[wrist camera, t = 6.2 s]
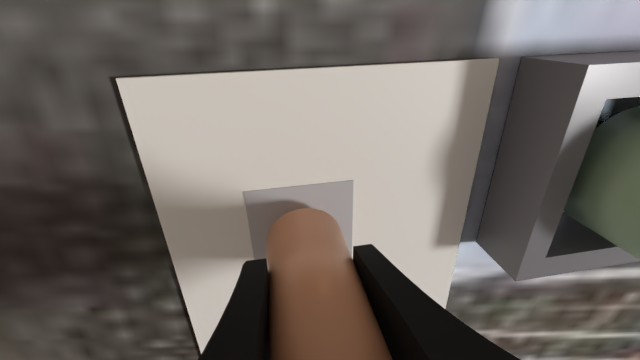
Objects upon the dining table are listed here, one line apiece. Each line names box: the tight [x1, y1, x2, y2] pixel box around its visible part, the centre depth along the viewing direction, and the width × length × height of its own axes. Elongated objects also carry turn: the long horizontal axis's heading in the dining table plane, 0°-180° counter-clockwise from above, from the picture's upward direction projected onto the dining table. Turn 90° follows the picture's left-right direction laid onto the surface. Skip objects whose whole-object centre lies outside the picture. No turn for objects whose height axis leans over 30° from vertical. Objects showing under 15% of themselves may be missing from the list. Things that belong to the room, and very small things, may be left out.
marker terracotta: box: [266, 208, 392, 360], centre depth 8 cm, size 3×3×7 cm
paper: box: [116, 58, 500, 354], centre depth 13 cm, size 14×12×1 cm
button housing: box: [476, 51, 640, 281], centre depth 12 cm, size 8×8×2 cm
